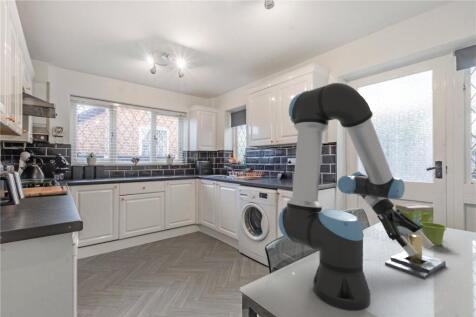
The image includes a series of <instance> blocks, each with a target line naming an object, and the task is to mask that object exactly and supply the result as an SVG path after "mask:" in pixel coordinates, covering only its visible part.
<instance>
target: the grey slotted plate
mask: <svg viewBox="0 0 476 317" xmlns="http://www.w3.org/2000/svg"><path fill="white" fill-rule="evenodd" d="M407 259H408V253H407V252H406V251H405V250H403V251H401V252H399V253H396V254H395V255H392V256H390V260H394V261H396V262H399V263H402V264H405V265H408V266H411V267H414V268H417V269H419V270H422V271H425V272H428V273H430V272H432V271H434V270H435V269H437V268H439V267H441V269H440V270H442V269H443V268H445V267H446V265H447V264H446V263H447V262H446V261H447V260H445V259H441V258H438V257H435V256H431V255H428V254H424V253H422V262H423V264H421V265H420V264H417V263H414V262H411V261H408V260H407Z"/></svg>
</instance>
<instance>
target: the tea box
mask: <svg viewBox="0 0 476 317" xmlns="http://www.w3.org/2000/svg"><path fill="white" fill-rule="evenodd" d="M397 209H399V210H400V211H401V212H402V213H403V214H404V215H406V216H407V217H408V218H410V219H411V220H412V221H414V222H415V223H416V224H418V225H419V226H420V227H421V229H420V231H421V232H422V233H423V228H422V226H421V224H420V223H422V222H430V223H434V214H435V213H434V211H435V210H434V207H433V206H429V205H425V204H424V205H423V204H419V203H408V204H407V203H404V204H403V203H402V204H395V209H394V210H395V211H396V210H397ZM396 225H397V228H398V230H399V233H400V234H404V235H407V236H408V234H413V233H414V232H412V231H410V230H409V229H407V228H406V227H404V226H402V225H401V224H397V223H396Z"/></svg>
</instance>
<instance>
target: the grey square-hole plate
mask: <svg viewBox="0 0 476 317" xmlns="http://www.w3.org/2000/svg"><path fill="white" fill-rule="evenodd" d="M407 260H408V259H407ZM384 264H385V265H386V266H388V267H391V268H394V269H397V270H399V271H402V272H404V273H407V274H409V275H412V276H415V277H417V278H420V279H423V280H425V279H427V278H429V277H430V276H432V275H434V274H435V273H437V272H439V271H440V270H442V269H441V267H439V268H437V269H435V270H434V271H432V272H430V273H428V272H425V271H422V270H419V269H417V268H414V267H411V266H408V265H405V264H402V263H399V262H396V261H394V260H391V259H388V260H386V261H385V262H384ZM422 264H423V262H422Z"/></svg>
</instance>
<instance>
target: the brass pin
mask: <svg viewBox="0 0 476 317" xmlns="http://www.w3.org/2000/svg"><path fill="white" fill-rule="evenodd" d="M407 236H408V238H407V239H408V240H407V241H408V242H409V243H410V245H411V246H412V247H413V248H414V249H415V250H416V251H417V252H418V253H416V254H414V255H413V256H411V257H410V256H409V255H408V261H411V262H414V263H417V264H420V265H421V264H422V254H423V244H422V236H419V235H415V234H408V235H407Z"/></svg>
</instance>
